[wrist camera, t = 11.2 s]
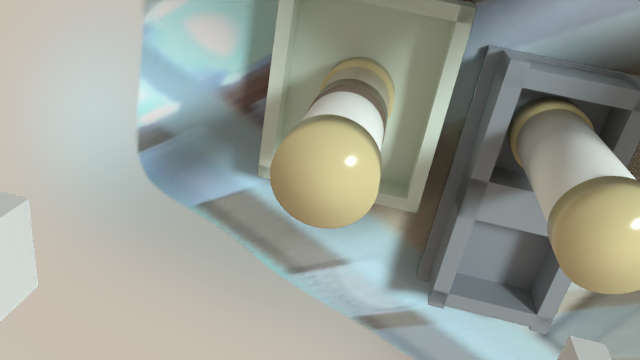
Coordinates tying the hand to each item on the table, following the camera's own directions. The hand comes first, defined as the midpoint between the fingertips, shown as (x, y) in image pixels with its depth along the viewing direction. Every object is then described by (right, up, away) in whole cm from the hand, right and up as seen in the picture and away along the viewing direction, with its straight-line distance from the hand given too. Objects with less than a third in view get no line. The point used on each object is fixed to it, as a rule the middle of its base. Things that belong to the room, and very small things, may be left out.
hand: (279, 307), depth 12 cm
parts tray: (+3, +8, +18) cm, 21 cm away
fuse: (+14, +6, +17) cm, 23 cm away
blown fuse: (+3, +8, +18) cm, 20 cm away
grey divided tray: (+13, +2, +19) cm, 24 cm away
